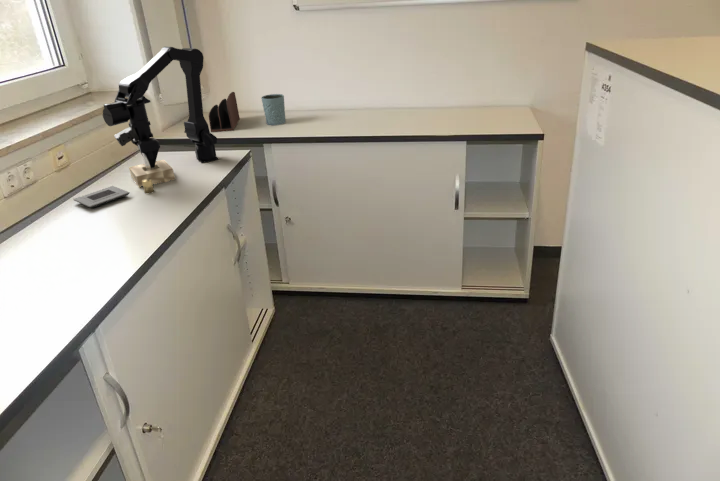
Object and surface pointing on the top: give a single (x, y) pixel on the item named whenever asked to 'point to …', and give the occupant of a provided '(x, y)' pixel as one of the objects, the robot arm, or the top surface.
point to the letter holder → (224, 115)
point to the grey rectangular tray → (101, 196)
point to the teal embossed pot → (274, 109)
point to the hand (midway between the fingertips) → (149, 164)
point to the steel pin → (147, 163)
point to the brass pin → (148, 185)
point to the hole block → (152, 173)
